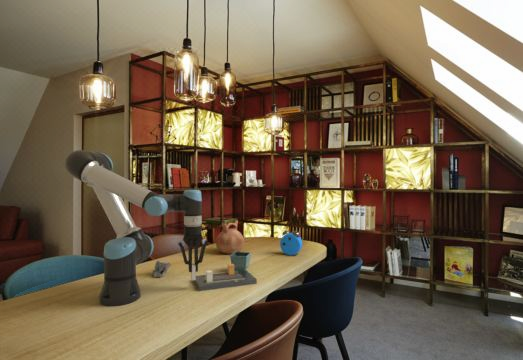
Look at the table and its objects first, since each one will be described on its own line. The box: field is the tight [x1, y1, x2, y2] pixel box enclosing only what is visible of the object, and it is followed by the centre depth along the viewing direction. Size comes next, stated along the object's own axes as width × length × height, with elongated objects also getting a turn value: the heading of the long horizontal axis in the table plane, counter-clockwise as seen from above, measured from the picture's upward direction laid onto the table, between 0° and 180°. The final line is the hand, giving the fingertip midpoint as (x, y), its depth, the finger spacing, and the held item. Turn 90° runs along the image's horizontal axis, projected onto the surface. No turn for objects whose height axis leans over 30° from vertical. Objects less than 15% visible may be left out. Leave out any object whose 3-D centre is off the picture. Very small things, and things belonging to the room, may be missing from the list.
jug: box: [215, 220, 245, 256], centre depth 206 cm, size 18×18×20 cm
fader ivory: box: [205, 269, 214, 282], centre depth 142 cm, size 3×3×4 cm
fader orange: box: [226, 263, 235, 275], centre depth 153 cm, size 3×3×4 cm
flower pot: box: [229, 251, 252, 271], centre depth 165 cm, size 9×9×9 cm
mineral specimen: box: [151, 260, 172, 279], centre depth 159 cm, size 10×8×10 cm
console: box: [193, 269, 258, 292], centre depth 148 cm, size 26×15×3 cm, turn 111°
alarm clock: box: [279, 230, 303, 256], centre depth 200 cm, size 13×6×15 cm, turn 66°
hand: (193, 279), depth 139 cm, fingers closed
